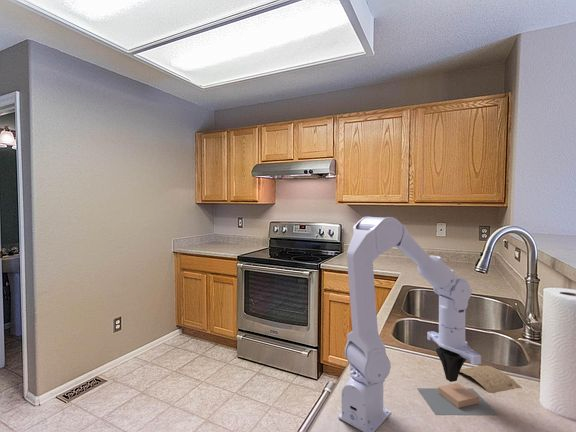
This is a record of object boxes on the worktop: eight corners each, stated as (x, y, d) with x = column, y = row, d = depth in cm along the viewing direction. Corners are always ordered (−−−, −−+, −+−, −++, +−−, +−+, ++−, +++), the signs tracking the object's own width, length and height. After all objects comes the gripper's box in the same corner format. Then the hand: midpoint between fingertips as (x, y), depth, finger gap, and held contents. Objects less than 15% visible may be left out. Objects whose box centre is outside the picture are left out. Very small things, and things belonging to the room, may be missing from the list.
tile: (438, 393, 75) (458, 408, 69) (438, 386, 75) (458, 401, 69) (457, 389, 77) (478, 403, 71) (457, 382, 77) (479, 396, 71)
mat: (435, 416, 67) (435, 414, 67) (416, 389, 77) (416, 388, 77) (499, 416, 67) (499, 414, 67) (472, 390, 77) (472, 388, 77)
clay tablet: (526, 393, 76) (526, 383, 76) (496, 402, 73) (496, 390, 73) (474, 366, 90) (474, 357, 90) (447, 372, 87) (447, 362, 87)
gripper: (491, 334, 69) (491, 394, 69) (442, 313, 83) (442, 363, 83) (466, 338, 67) (466, 399, 67) (420, 316, 81) (420, 367, 81)
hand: (451, 379), depth 75 cm, fingers closed
